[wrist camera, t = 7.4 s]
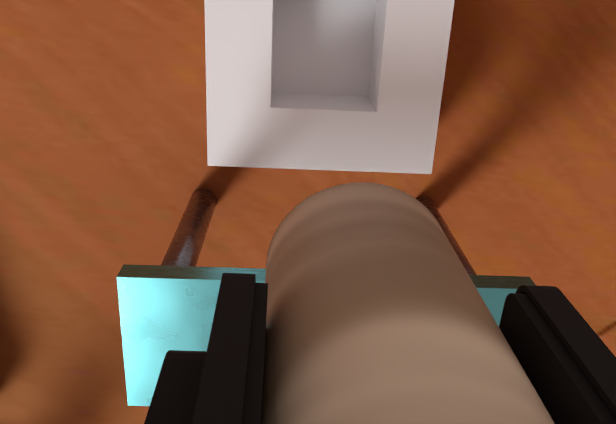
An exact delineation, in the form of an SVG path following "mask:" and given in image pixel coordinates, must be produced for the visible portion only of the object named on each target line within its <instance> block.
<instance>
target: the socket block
mask: <svg viewBox="0 0 616 424" xmlns="http://www.w3.org/2000/svg"><path fill="white" fill-rule="evenodd" d="M454 1H455V0H205V49H206V101H207V153H208V166H230V167H257V168H284V169H311V170H338V171H365V172H392V173H419V174H431V173H432V166H433V158H434V151H435V143H436V136H437V128H438V121H439V113H440V106H441V98H442V91H443V83H444V76H445V69H446V61H447V54H448V46H449V39H450V31H451V24H452V16H453V9H454Z"/></svg>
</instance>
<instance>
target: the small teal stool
mask: <svg viewBox="0 0 616 424" xmlns="http://www.w3.org/2000/svg"><path fill="white" fill-rule="evenodd" d="M416 199H417V200H418V201H419V202H421V203H422V204H423V205H424V206H425V207H426V208H427V209H428V210H429V211H430V212H431V213H432V214H433V216H434V217H435V218H436V220H437V221H438V223H439V225H440V226H441V228H442V230H443V232H444V233H445V235H446V237H447V239H448V240H449V242H450V244H451V245H452V247H453V249H454V251H455V252H456V254H457V256H458V257H459V259H460V261H461V263H462V264H463V266H464V268H465V270H466V271H467V273H468V275H469V276H470V278H471V280H472V282H473V283H474V285H475V287H476V289H477V290H478V292H479V294H480V295H481V297H482V299H483V301H484V302H485V304H486V306H487V308H488V309H489V311H490V313H491V314H492V316H493V318H494V320H495V321H496V323H497V325H498V327H499V324H500V320H501V315H502V311H503V307H504V302H505V299H506V297H507V295H508V294H510V293H516V291H517V289H518V288H519V287H520V286H521V285H530V286H536V285H535V284H534V282H533V281H532V280H531V278H530V277H518V276H485V275H476V273H475V272H474V270H473V268H472V266H471V265H470V263H469V261H468V260H467V258H466V256H465V255H464V253H463V251H462V250H461V248H460V246H459V245H458V243H457V241H456V240H455V238H454V236H453V235H452V233H451V231H450V229H449V228H448V226H447V224H446V223H445V221H444V219H443V218H442V216H441V214H440V213H439V211H438V209H437V208H436V206H435V204H434V203H433V201H432V200H431V199H430V198H428V197H418V198H416ZM215 205H216V197H215V195H214V194H213V193H212V192H211V191H209V190H207V189H199V190H196V191H195V192H194V193H193V194H192V196H191V198H190V201H189V203H188V205H187V207H186V210H185V212H184V214H183V217H182V219H181V221H180V223H179V226H178V228H177V230H176V232H175V235H174V237H173V239H172V241H171V244H170V246H169V248H168V250H167V253H166V255H165V257H164V259H163V262H162V264H161V266H155V265H123V267H122V268H121V270H120V272H119V274H118V275H117V287H118V299H119V310H120V321H121V333H122V344H123V356H124V367H125V378H126V390H127V401H128V406H150V403H151V400H152V397H153V394H154V390H155V387H156V384H157V380H158V377H159V374H160V371H161V367H162V364H163V361H164V358H165V355H166V353H167V352H168V351H169V350H180V351H207V347H208V343H209V338H210V333H211V328H212V323H213V318H214V313H215V308H216V303H217V298H218V293H219V288H220V283H221V278H222V274H223V273H244V274H256V283H265V275H266V269H254V268H221V267H196V264H197V260H198V257H199V254H200V251H201V248H202V245H203V242H204V239H205V236H206V233H207V230H208V227H209V224H210V220H211V217H212V214H213V211H214V208H215Z"/></svg>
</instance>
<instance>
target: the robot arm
mask: <svg viewBox="0 0 616 424" xmlns="http://www.w3.org/2000/svg"><path fill="white" fill-rule="evenodd" d="M267 296H268V283H256V274H244V273H223V274H222V278H221V283H220V288H219V293H218V298H217V303H216V308H215V313H214V318H213V323H212V328H211V333H210V338H209V343H208V347H207V351H180V350H169V351H168V352H167V353H166V355H165V358H164V361H163V364H162V367H161V371H160V374H159V377H158V380H157V384H156V387H155V390H154V394H153V397H152V400H151V403H150V407H149V410H148V413H147V417H146V420H145V423H144V424H261V413H262V394H263V375H264V357H265V338H266V318H267ZM499 328H500V330H501V332H502V333H503V335H504V337H505V339H506V340H507V342H508V344H509V346H510V347H511V349H512V351H513V352H514V354H515V356H516V358H517V359H518V361H519V363H520V364H521V366H522V368H523V370H524V371H525V373H526V375H527V377H528V378H529V380H530V382H531V383H532V385H533V387H534V389H535V390H536V392H537V394H538V396H539V397H540V399H541V401H542V402H543V404H544V406H545V408H546V409H547V411H548V413H549V415H550V416H551V418H552V420H553V421H554V423H555V424H616V357H615V356H614V355H613V354H612V352H611V351H610V350H609V349H608V348H607V346H606V345H605V344H604V343H603V341H602V340H601V339H600V338H599V337H598V335H597V334H596V333H595V332H594V331H593V329H592V328H591V327H590V326H589V325H588V323H587V322H586V321H585V320H584V319H583V317H582V316H581V315H580V314H579V313H578V311H577V310H576V309H575V308H574V307H573V305H572V304H571V303H570V302H569V301H568V299H567V298H566V297H565V296H564V294H563V293H562V292H561V291H560V290H559V289H558V288H557V287H553V286H530V285H521V286H520V287H519V288H518V289H517V291H516V293H510V294H508V295H507V297H506V299H505V302H504V307H503V311H502V315H501V320H500V324H499Z"/></svg>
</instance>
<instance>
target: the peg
mask: <svg viewBox="0 0 616 424" xmlns="http://www.w3.org/2000/svg"><path fill="white" fill-rule="evenodd" d="M265 283H268V296H267V318H266V338H265V357H264V375H263V394H262V413H261V424H555V423H554V421H553V420H552V418H551V416H550V415H549V413H548V411H547V409H546V408H545V406H544V404H543V402H542V401H541V399H540V397H539V396H538V394H537V392H536V390H535V389H534V387H533V385H532V383H531V382H530V380H529V378H528V377H527V375H526V373H525V371H524V370H523V368H522V366H521V364H520V363H519V361H518V359H517V358H516V356H515V354H514V352H513V351H512V349H511V347H510V346H509V344H508V342H507V340H506V339H505V337H504V335H503V333H502V332H501V330H500V328H499V327H498V325H497V323H496V321H495V320H494V318H493V316H492V314H491V313H490V311H489V309H488V308H487V306H486V304H485V302H484V301H483V299H482V297H481V295H480V294H479V292H478V290H477V289H476V287H475V285H474V283H473V282H472V280H471V278H470V276H469V275H468V273H467V271H466V270H465V268H464V266H463V264H462V263H461V261H460V259H459V257H458V256H457V254H456V252H455V251H454V249H453V247H452V245H451V244H450V242H449V240H448V239H447V237H446V235H445V233H444V232H443V230H442V228H441V226H440V225H439V223H438V221H437V220H436V218H435V217H434V216H433V214H432V213H431V212H430V211H429V210H428V209H427V208H426V207H425V206H424V205H423V204H422V203H421V202H419V201H418V200H417V199H415V198H414V197H412V196H411V195H409V194H407V193H405V192H403V191H401V190H398V189H396V188H393V187H390V186H386V185H382V184H375V183H349V184H342V185H338V186H334V187H330V188H327V189H325V190H322V191H320V192H317V193H316V194H314V195H312V196H310V197H308V198H307V199H305V200H304V201H302V202H301V203H300V204H298V205H297V206H296V207H295V208H294V209H293V210H292V211H291V212H290V213H288V215H287V216H286V217H285V218H284V220H283V221H282V222H281V223H280V225H279V227H278V228H277V230H276V232H275V233H274V236H273V238H272V240H271V243H270V246H269V250H268V254H267V262H266V275H265Z"/></svg>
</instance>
